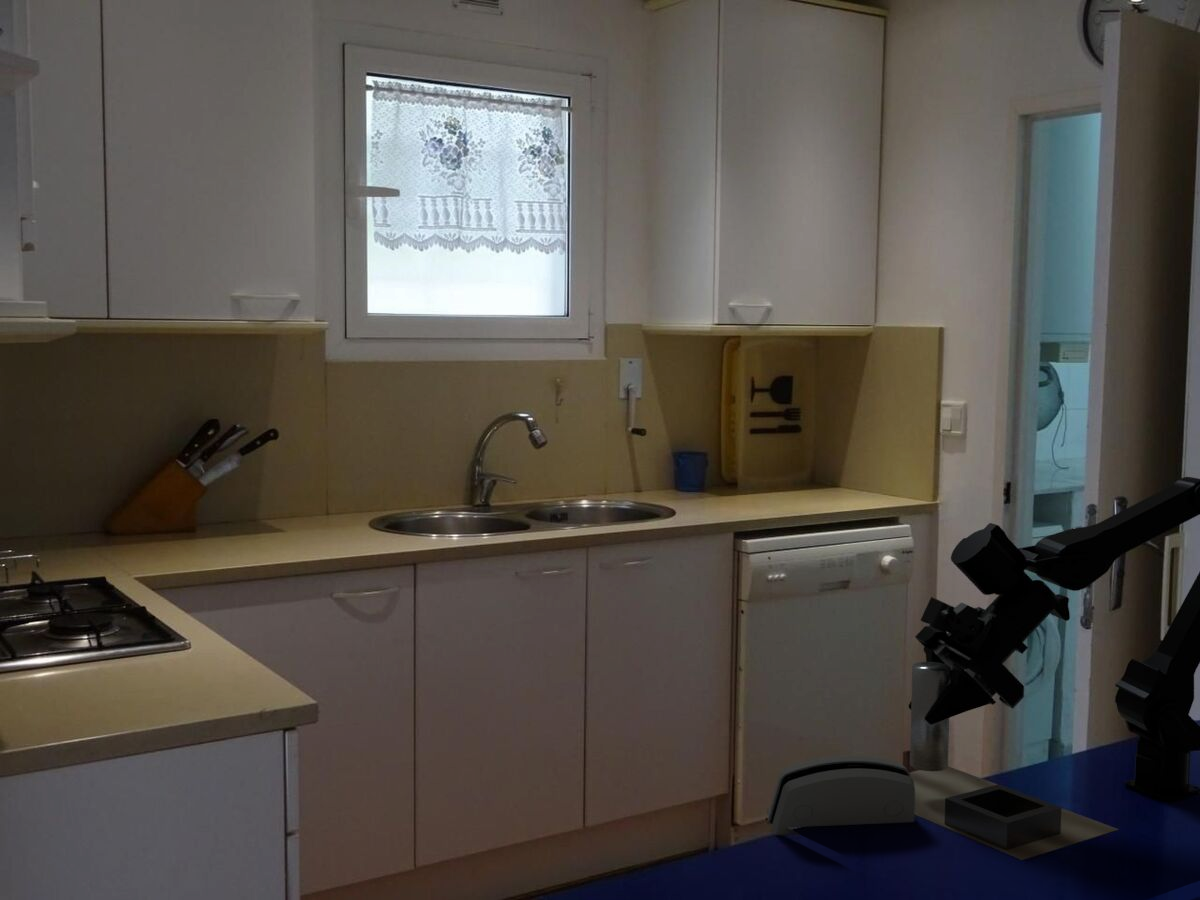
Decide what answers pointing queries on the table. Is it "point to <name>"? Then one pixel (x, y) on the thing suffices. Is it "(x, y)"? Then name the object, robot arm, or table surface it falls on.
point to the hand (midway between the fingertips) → (919, 715)
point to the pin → (925, 738)
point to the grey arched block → (841, 794)
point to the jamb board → (955, 782)
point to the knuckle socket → (1003, 816)
